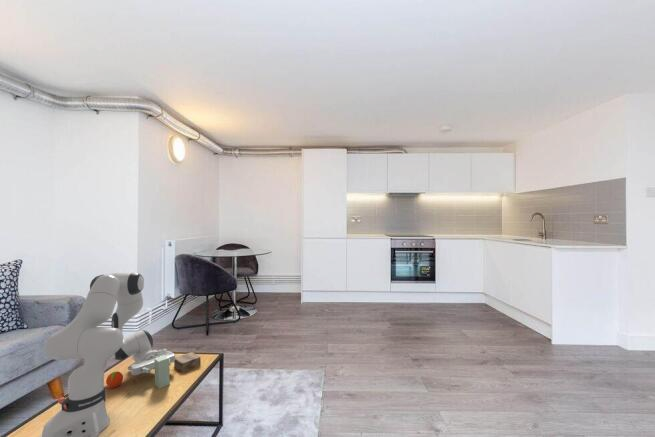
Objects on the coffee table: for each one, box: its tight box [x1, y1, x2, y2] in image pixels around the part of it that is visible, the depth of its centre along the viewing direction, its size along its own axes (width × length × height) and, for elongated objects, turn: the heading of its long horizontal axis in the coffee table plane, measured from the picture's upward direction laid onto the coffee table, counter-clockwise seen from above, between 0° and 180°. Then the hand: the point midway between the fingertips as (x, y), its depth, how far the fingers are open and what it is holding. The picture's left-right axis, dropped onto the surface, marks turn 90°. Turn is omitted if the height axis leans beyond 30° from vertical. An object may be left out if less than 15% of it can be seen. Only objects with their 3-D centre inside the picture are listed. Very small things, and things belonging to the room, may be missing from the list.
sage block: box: [154, 355, 171, 389], centre depth 154 cm, size 5×5×13 cm
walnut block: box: [173, 351, 202, 373], centre depth 173 cm, size 10×10×4 cm
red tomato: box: [105, 371, 124, 388], centre depth 153 cm, size 8×7×7 cm
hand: (159, 367), depth 156 cm, fingers open, 8 cm apart
